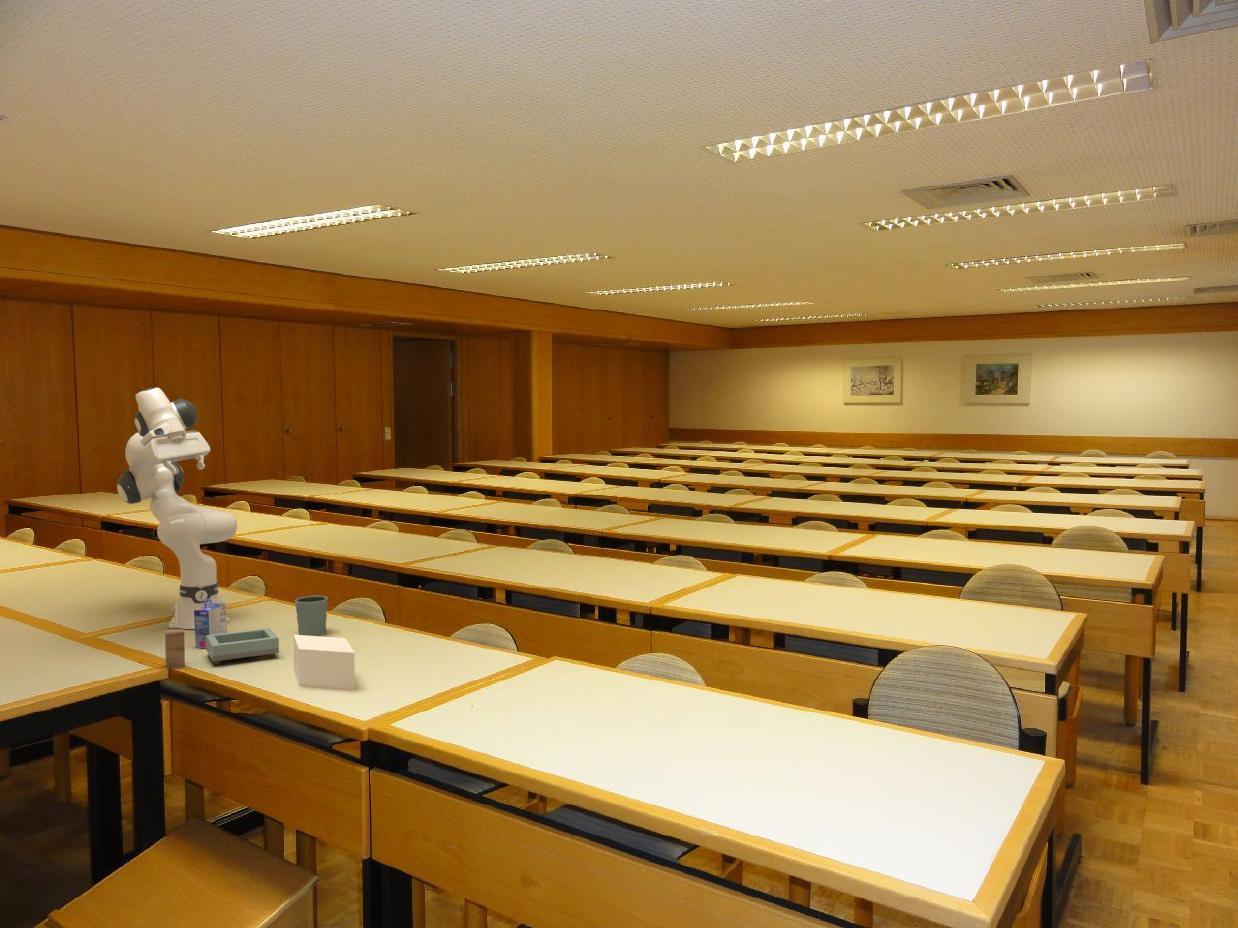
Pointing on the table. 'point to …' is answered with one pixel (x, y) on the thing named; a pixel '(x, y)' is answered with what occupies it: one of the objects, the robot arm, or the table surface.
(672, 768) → the table surface
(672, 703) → the table surface
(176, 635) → the walnut part
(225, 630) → the ink cartridge box
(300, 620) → the grey tapered cup
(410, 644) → the table surface
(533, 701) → the table surface
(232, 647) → the grey storage tray
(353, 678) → the white rectangular block
